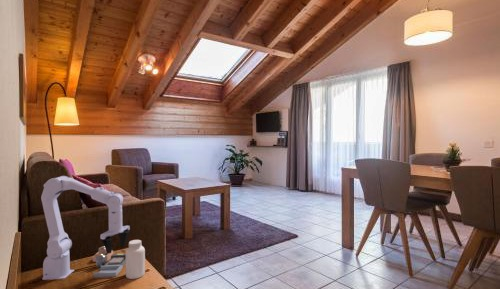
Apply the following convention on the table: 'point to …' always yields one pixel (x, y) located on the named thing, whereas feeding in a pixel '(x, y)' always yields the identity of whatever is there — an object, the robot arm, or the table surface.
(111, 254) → the pink square tube
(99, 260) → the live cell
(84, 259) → the table surface
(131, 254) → the pill bottle
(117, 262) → the pad
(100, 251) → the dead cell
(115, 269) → the trough
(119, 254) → the digital scale
